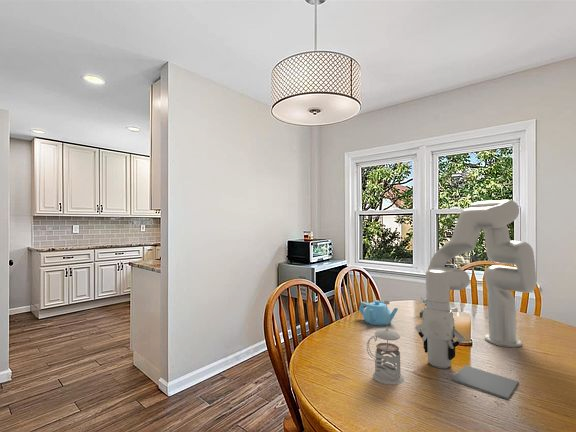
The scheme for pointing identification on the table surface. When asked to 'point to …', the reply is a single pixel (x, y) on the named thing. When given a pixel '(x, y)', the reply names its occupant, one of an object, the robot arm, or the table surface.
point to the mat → (486, 382)
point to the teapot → (377, 313)
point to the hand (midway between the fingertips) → (439, 354)
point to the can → (438, 351)
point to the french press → (387, 357)
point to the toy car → (425, 306)
